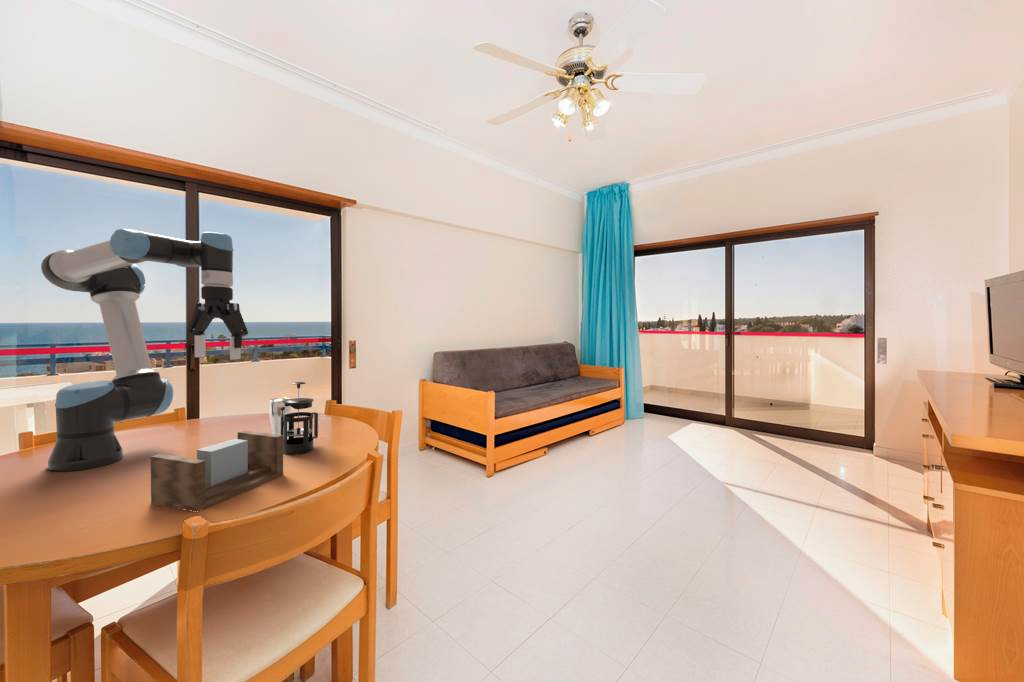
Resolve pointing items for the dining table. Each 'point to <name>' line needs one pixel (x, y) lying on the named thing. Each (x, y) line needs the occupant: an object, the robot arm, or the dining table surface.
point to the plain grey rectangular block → (224, 461)
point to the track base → (185, 477)
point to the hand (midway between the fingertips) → (217, 358)
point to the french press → (298, 443)
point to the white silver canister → (278, 415)
